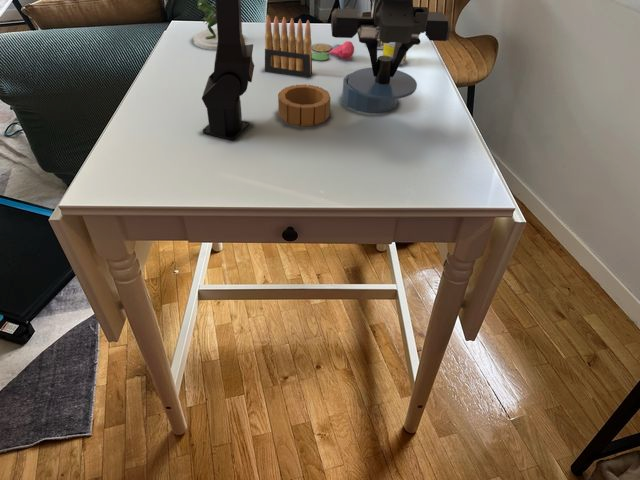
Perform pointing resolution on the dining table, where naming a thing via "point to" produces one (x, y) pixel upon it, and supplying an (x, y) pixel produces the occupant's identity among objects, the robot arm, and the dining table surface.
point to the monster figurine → (208, 37)
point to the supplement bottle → (391, 51)
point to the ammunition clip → (288, 49)
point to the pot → (365, 100)
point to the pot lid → (382, 81)
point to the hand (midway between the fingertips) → (383, 75)
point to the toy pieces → (333, 51)
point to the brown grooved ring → (304, 105)
